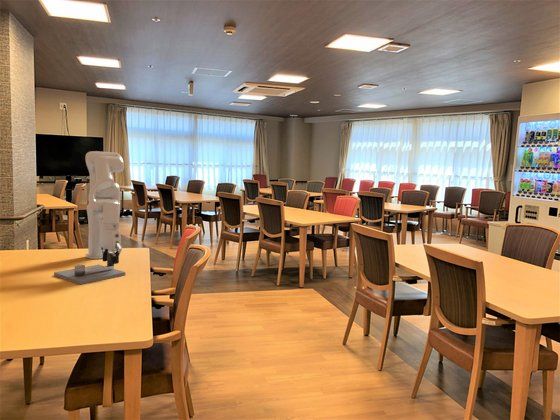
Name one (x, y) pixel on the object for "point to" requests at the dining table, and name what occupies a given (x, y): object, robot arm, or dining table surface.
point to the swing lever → (81, 268)
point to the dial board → (89, 275)
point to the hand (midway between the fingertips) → (110, 262)
